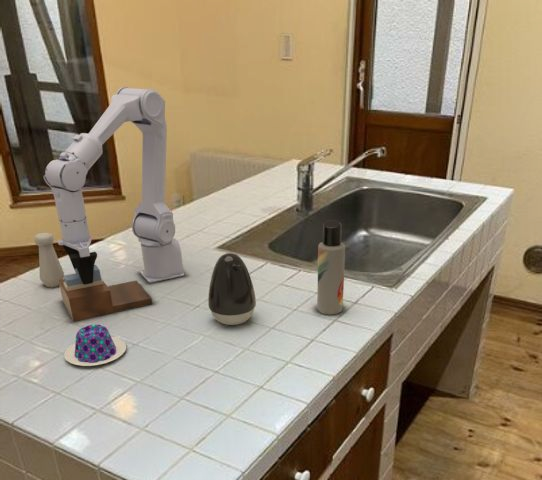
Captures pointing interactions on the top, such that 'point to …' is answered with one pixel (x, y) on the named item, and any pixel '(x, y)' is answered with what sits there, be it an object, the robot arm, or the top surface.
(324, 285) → the lotion bottle
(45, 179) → the robot arm
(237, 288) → the dark egg shaped container
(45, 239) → the salt shaker
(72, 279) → the blue stepped block
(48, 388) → the top surface
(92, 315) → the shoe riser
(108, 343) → the patterned hat
